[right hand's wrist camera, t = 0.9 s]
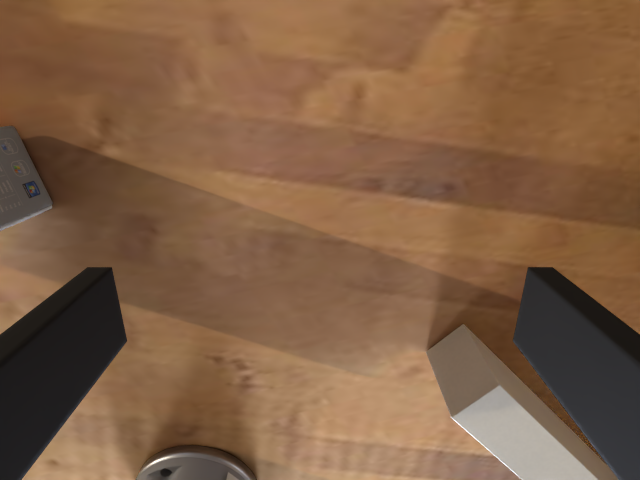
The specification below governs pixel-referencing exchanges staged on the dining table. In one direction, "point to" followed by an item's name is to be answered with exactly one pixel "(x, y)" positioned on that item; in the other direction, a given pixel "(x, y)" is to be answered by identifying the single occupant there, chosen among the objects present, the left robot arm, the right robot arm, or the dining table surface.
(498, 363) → the beam
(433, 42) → the dining table surface
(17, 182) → the hard drive box
